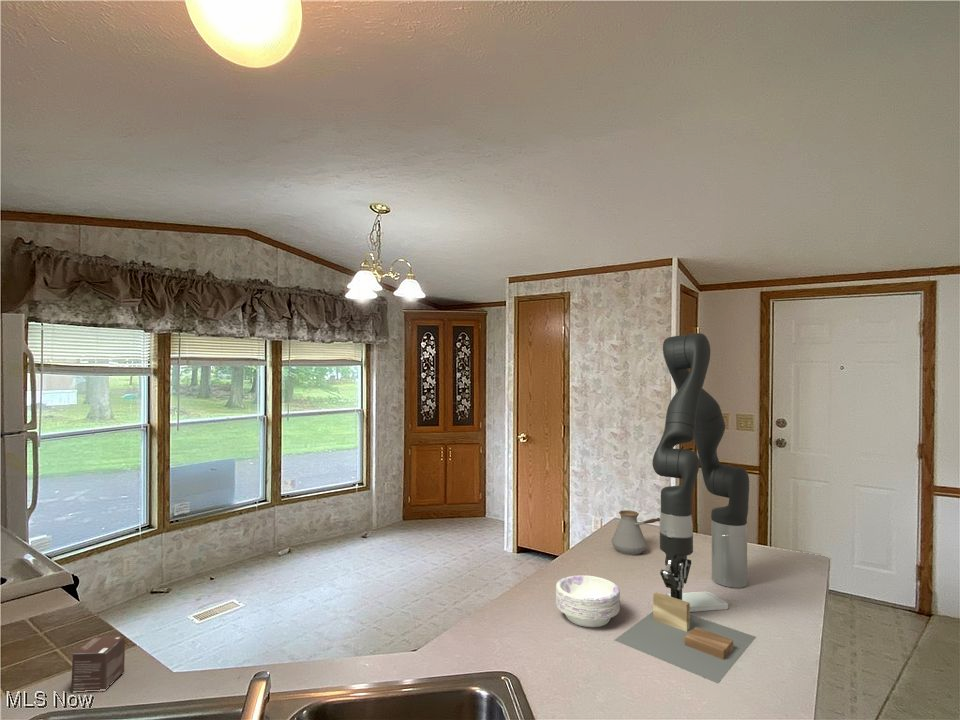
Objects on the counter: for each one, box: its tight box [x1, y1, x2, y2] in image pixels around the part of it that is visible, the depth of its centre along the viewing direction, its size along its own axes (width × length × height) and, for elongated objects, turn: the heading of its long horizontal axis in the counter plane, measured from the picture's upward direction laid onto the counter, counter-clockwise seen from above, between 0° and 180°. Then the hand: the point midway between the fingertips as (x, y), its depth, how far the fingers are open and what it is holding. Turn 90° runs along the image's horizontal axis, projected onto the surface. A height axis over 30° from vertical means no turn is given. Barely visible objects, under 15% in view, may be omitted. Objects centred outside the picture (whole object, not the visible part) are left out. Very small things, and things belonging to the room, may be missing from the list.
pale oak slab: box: [652, 591, 691, 632], centre depth 118 cm, size 2×8×6 cm, turn 45°
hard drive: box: [665, 591, 729, 613], centre depth 128 cm, size 2×8×12 cm
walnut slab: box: [685, 627, 733, 660], centre depth 108 cm, size 2×8×6 cm
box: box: [70, 635, 126, 693], centre depth 95 cm, size 6×6×7 cm
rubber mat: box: [614, 611, 757, 684], centre depth 111 cm, size 24×22×1 cm
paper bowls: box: [555, 574, 621, 628], centre depth 121 cm, size 15×15×8 cm
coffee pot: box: [610, 509, 660, 556], centre depth 164 cm, size 21×12×15 cm, turn 27°
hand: (676, 603), depth 120 cm, fingers closed
